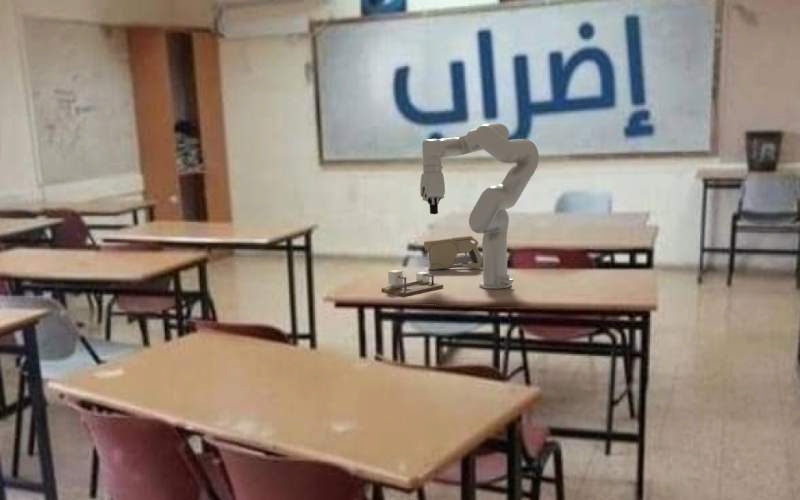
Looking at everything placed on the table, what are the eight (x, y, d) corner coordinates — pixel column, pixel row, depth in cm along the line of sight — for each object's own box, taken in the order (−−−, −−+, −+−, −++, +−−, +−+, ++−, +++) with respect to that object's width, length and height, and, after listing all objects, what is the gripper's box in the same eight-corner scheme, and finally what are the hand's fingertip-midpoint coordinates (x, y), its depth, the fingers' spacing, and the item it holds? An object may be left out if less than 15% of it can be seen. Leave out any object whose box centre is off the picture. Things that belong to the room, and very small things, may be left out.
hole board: (443, 287, 315) (443, 284, 315) (403, 296, 303) (403, 293, 303) (420, 282, 326) (420, 279, 326) (381, 291, 314) (381, 287, 314)
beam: (436, 283, 318) (436, 274, 317) (399, 291, 306) (399, 282, 306) (423, 280, 324) (423, 271, 324) (386, 288, 313) (386, 279, 312)
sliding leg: (410, 288, 309) (409, 272, 308) (402, 289, 307) (401, 273, 306) (396, 285, 316) (396, 269, 315) (388, 286, 313) (388, 271, 312)
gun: (483, 267, 352) (479, 234, 349) (483, 269, 349) (479, 235, 346) (428, 273, 355) (424, 240, 352) (428, 275, 351) (423, 241, 349)
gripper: (440, 167, 335) (441, 211, 338) (412, 170, 326) (414, 215, 329) (452, 168, 329) (453, 212, 332) (424, 171, 320) (425, 216, 323)
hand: (433, 213), depth 330 cm, fingers closed
